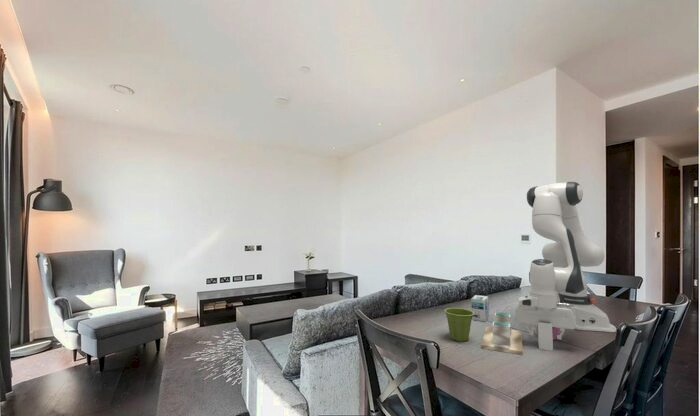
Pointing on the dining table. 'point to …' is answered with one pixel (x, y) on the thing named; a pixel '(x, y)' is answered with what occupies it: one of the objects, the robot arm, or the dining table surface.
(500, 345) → the board
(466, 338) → the plant pot
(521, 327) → the dining table surface
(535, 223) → the robot arm
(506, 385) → the dining table surface
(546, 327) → the block
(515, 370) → the dining table surface
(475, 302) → the light bulb box
